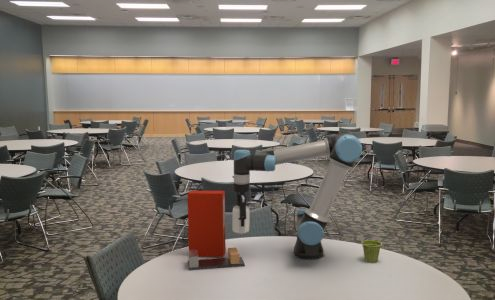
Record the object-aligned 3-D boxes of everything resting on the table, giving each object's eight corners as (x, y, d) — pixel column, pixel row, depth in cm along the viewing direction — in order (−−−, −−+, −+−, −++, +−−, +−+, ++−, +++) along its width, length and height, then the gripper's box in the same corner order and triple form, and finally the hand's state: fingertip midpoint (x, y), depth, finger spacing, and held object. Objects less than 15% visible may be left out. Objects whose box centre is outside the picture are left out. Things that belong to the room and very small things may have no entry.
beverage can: (236, 235, 216) (237, 209, 215) (229, 230, 223) (229, 205, 222) (252, 232, 220) (252, 207, 218) (244, 228, 227) (245, 204, 225)
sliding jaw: (236, 256, 227) (236, 247, 227) (239, 263, 217) (239, 254, 217) (228, 257, 227) (228, 247, 226) (230, 264, 217) (230, 254, 216)
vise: (241, 259, 228) (241, 246, 227) (244, 266, 218) (244, 253, 217) (187, 262, 224) (187, 250, 223) (188, 270, 214) (188, 257, 213)
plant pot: (380, 264, 218) (381, 246, 218) (360, 262, 222) (360, 245, 221) (381, 258, 227) (382, 241, 226) (362, 256, 230) (362, 239, 229)
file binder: (192, 251, 240) (191, 190, 236) (225, 252, 238) (224, 190, 235) (188, 256, 232) (187, 193, 228) (223, 257, 230) (222, 193, 227)
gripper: (230, 178, 228) (230, 224, 231) (236, 187, 208) (235, 236, 210) (245, 178, 229) (245, 223, 232) (253, 187, 209) (252, 236, 212)
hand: (240, 230), depth 221 cm, fingers closed on beverage can, 8 cm apart
